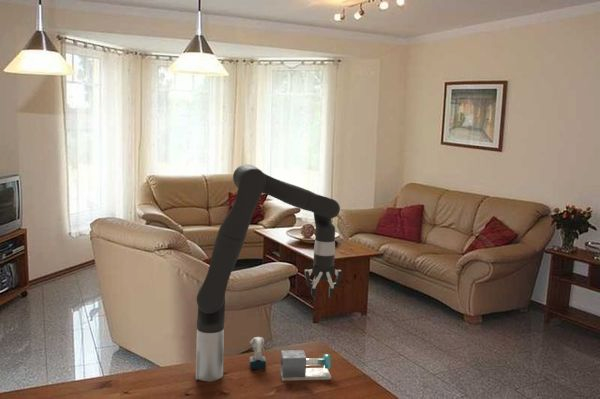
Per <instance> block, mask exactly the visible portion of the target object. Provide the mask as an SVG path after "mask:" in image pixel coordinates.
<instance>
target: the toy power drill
mask: <svg viewBox="0 0 600 399" xmlns="http://www.w3.org/2000/svg"><path fill="white" fill-rule="evenodd" d="M249 344H251V346H252V349H253V356H249V370H250V369H258V371H260V370H259V369H262V371H263V370H264V369H266V368H267V365H266V364H267V360H266V356H263V351H262V350H263V347H264V345H265V339H264V338H263V337H262V336H255V337H253V338H252V339H251V340H250V341H249Z"/></svg>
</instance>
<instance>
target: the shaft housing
mask: <svg viewBox="0 0 600 399" xmlns="http://www.w3.org/2000/svg"><path fill="white" fill-rule="evenodd" d="M306 358H307V356H306V353H305V350H303V349H298V350H297V349H295V350H294V349H293V350H291V349H290V350H289V349H288V350H281V351H280V376H281V380H282V381H283V382H284V381H287V382H288V381H319V380H323V381H324V380H326V381H327V380H332V375H331V374H330V372H329V369H324V368H323V367H309V368H308V367H307V366H306Z"/></svg>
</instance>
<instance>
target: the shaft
mask: <svg viewBox="0 0 600 399" xmlns="http://www.w3.org/2000/svg"><path fill="white" fill-rule="evenodd" d="M331 358H332V356H331V354H330V353H328V354H327V353H324V354H323V355H322V357H318V358H313V357H312V358H311V357H309V358H307V357H306V367H307V366H309V367H310V366H322V368H324V369H328V370H330V369H331V368H332V359H331Z"/></svg>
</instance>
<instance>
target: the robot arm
mask: <svg viewBox="0 0 600 399" xmlns="http://www.w3.org/2000/svg"><path fill="white" fill-rule="evenodd" d="M232 180H233V183H234V185H235V186H236V188H237V192H236V196H235V199H234V203H233V206H231V209H230V211H229V212H228V213H227V215H226V216H225V217H224V219H223V221H222V222H221V224H220V226H219V227H218V228H219V229H218V231H217V234H216V237H215V240H214V244H213V248H212V252H211V256H210V261H209V265H208V266H209V267H208V270H207V274H206V276H205V279H204V281H203V283H202V284H201V285H200V286H199V289H198V291H197V294H196V303H197V320H196V350H195V351H196V353H195V380H196V381H197V380H199V381H202V382H203V381H204V382H214V381H218V380H220V379H222V378H223V375H224V345H225V344H224V339H225V338H224V337H225V318H226V317H225V316H226V314H225V313H226V291H227V287H228V283H229V279H230V277H231V274H232V272H233V270H234V268H235V266H236V263H237V261H238V260H239V259H238V258H239V256H240V253H241V251H242V249H243V246H244V243H245V240H246V237H247V233H248V230H249V227H250V224H251V221H252V218H253V214H254V211H255V210H256V207H257V205H258V203H259V200H260V199H261V197H262V194H264V195H267V196H270V197H273V198H275V199H277V200H279V201H281V202H282V203H285V204H287V205H290V206H293V207H294V208H298V209H299V210H303V211H307V212H311V213H313V218H314V224H315V240H314V246H313V265H312V268H311V269H306V268H305V269H304V276H305V277H304V278H305V282H306V286H307V287H309V288H311V289H310V291H311V292H310V294H311V295H310V296H311V297H312V299H316V298H317V297H316V295H317V294H316V293H317V292H316V290H317V288H316V287H317V285H318V284H319V282H320V281H327V282H328V284H329V286H328V298H329V299H332V297H334V290H335V288H338V287H339V286H340V283H341V278H342V276H343V272H342V270H341V269H336V268H335V257H336V255H335V254H336V242H335V240H336V239H335V238H336V226H335V225H334V224H333V223H332V219H335V218H336V217H337V216H338V215H339V214H340V212H341V207H340V204H339V202H338V201H337V200H336V199H333V198H331V197H327V196H324V195H320V194H317V193H315V192H314V191H311V190H309V189H306V188H304V187H301V186H298V185H295V184H291V183H288V182H286V181H282V180H280V179H277V178H275V177H272V176H271V175H269V174H266V173H265V172H263V171H262V170H261V169H259V168H258V167H256V166H254V165H252V164H247V163H246V164H245V163H244V164H242V165H239V166H237V168H235V170H234V171H233V175H232ZM312 274H313V275H314V277H313V280H312V282H311V279H310V278H311V277H310V276H311V275H312ZM334 274H335V276H336V277H335V280H334V282H333V280H332V276H333V275H334Z"/></svg>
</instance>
